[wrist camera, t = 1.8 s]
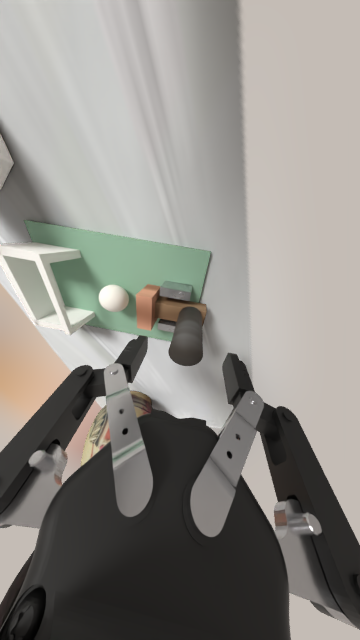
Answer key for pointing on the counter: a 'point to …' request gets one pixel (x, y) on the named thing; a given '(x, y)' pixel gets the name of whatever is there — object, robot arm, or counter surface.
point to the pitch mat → (118, 272)
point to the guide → (175, 292)
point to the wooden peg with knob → (185, 313)
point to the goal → (41, 284)
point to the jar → (4, 162)
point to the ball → (113, 298)
